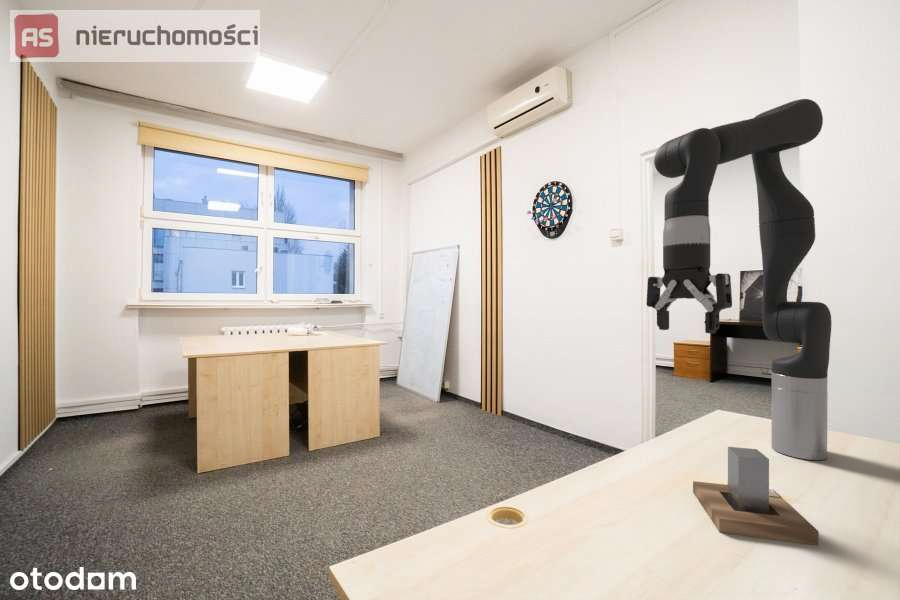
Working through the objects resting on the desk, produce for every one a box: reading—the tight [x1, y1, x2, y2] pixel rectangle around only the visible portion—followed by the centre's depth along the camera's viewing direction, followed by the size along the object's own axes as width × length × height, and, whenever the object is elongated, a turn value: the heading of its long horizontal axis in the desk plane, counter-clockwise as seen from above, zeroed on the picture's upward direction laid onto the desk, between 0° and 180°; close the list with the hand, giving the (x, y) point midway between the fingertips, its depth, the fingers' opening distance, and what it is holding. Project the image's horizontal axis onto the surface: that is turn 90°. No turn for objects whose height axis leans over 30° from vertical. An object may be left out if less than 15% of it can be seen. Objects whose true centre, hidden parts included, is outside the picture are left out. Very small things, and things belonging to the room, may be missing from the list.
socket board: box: [692, 480, 819, 546], centre depth 62 cm, size 12×12×2 cm
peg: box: [727, 446, 770, 515], centre depth 62 cm, size 4×4×10 cm
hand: (686, 331), depth 73 cm, fingers open, 8 cm apart
